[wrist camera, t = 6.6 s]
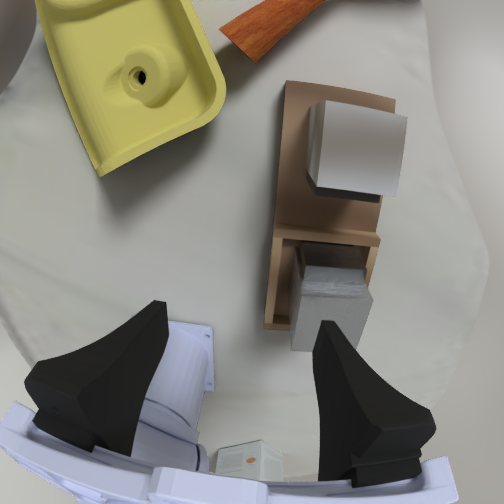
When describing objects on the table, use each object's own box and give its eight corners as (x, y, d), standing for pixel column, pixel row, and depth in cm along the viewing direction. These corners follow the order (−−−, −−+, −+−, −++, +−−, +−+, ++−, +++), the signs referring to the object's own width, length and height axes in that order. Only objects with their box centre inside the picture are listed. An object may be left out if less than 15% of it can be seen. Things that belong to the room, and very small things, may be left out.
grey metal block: (338, 298, 22) (354, 352, 17) (288, 295, 22) (291, 350, 17) (352, 239, 20) (378, 284, 14) (296, 233, 20) (304, 279, 15)
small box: (242, 462, 39) (234, 529, 28) (217, 448, 37) (205, 521, 25) (285, 453, 37) (283, 527, 25) (262, 438, 35) (256, 520, 23)
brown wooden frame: (345, 317, 25) (362, 376, 18) (264, 312, 25) (260, 373, 19) (387, 100, 17) (437, 96, 10) (285, 83, 17) (291, 64, 11)
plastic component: (238, 111, 16) (83, 187, 14) (208, 122, 23) (98, 177, 21) (144, -92, 7) (12, -39, 5) (136, -46, 14) (34, -2, 12)
